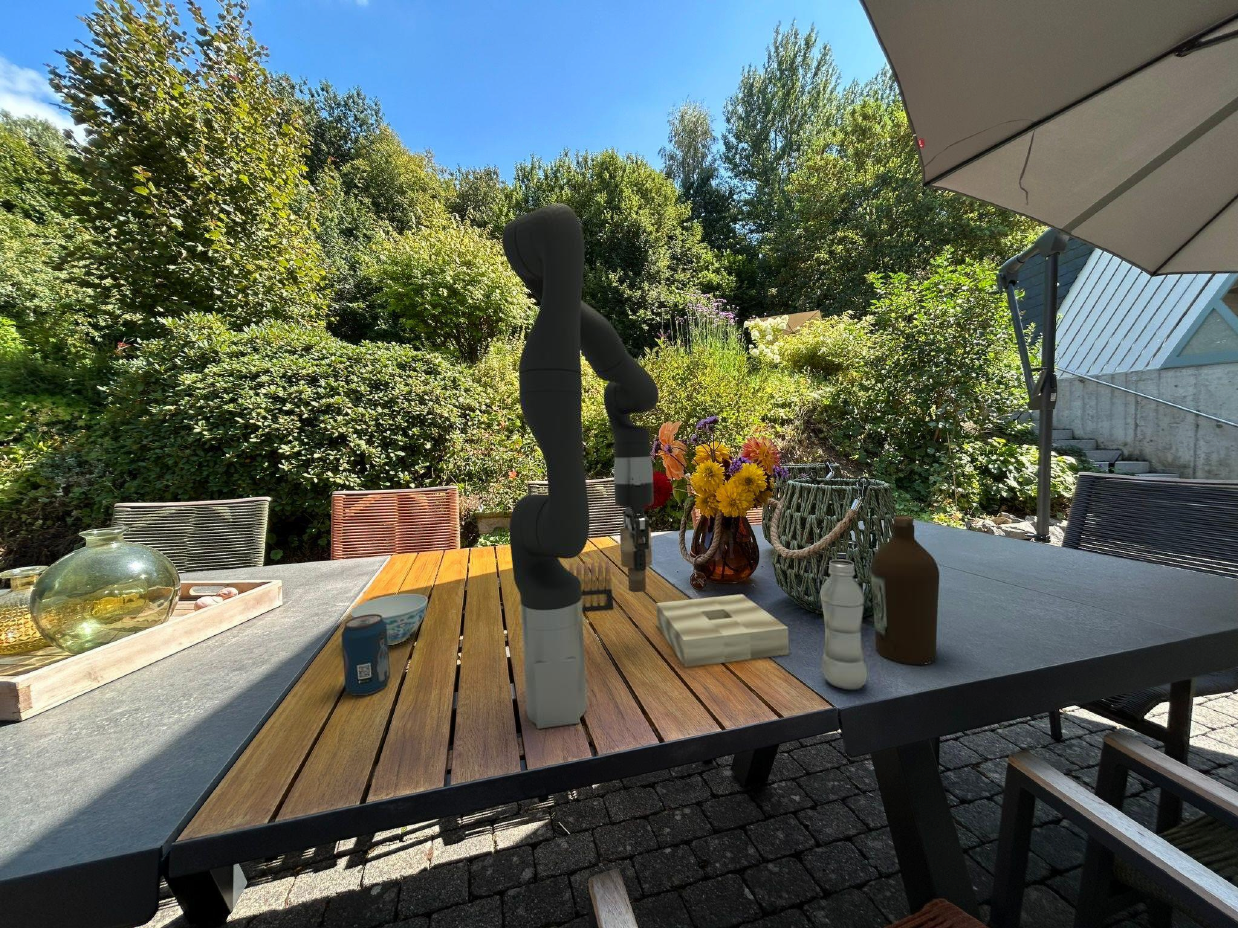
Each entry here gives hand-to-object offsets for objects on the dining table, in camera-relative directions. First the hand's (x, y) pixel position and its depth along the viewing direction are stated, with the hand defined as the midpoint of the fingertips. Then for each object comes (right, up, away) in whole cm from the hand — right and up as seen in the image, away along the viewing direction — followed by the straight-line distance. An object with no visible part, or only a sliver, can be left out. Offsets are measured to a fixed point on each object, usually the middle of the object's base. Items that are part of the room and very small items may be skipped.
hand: (636, 566), depth 93 cm
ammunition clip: (-10, -16, +23) cm, 30 cm away
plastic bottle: (+33, -16, -16) cm, 40 cm away
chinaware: (-52, -18, +10) cm, 57 cm away
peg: (0, -5, 0) cm, 5 cm away
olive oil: (+49, -15, -6) cm, 51 cm away
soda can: (-47, -19, -10) cm, 52 cm away
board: (+17, -15, +4) cm, 23 cm away
